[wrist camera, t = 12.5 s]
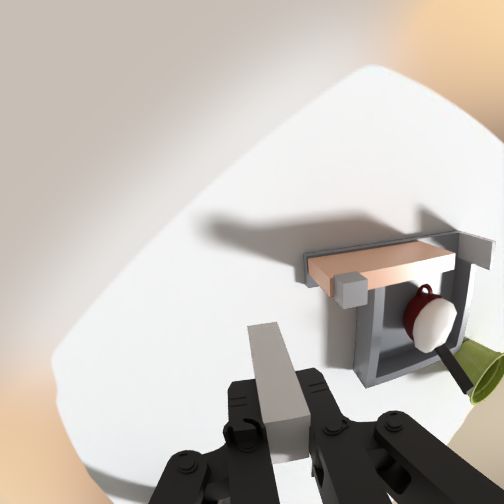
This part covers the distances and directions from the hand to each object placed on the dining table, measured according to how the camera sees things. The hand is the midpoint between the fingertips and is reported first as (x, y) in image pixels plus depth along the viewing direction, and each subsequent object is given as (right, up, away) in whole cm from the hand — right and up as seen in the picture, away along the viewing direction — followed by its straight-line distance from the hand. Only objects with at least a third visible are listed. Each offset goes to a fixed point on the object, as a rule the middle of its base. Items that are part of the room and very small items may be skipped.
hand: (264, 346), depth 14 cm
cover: (+12, +4, +13) cm, 18 cm away
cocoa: (+19, -3, +16) cm, 25 cm away
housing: (+16, -2, +16) cm, 23 cm away
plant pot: (+35, -12, +21) cm, 42 cm away
